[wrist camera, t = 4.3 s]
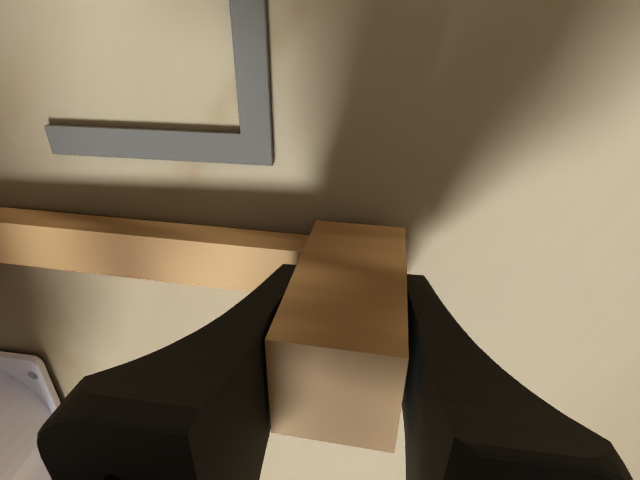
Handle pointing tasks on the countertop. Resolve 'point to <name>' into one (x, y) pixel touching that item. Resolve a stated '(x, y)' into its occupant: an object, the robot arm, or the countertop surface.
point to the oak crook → (293, 312)
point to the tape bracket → (197, 145)
